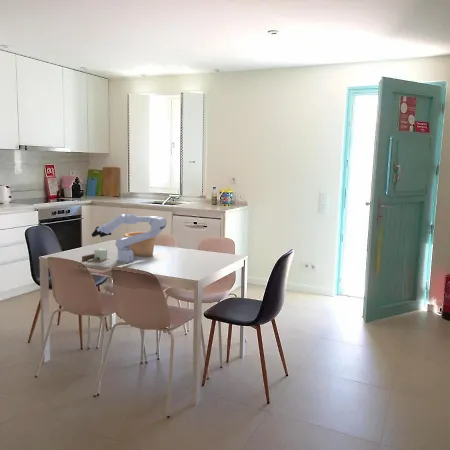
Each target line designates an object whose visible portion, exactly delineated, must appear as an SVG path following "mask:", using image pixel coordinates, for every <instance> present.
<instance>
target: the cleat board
mask: <svg viewBox="0 0 450 450" xmlns="http://www.w3.org/2000/svg"><path fill="white" fill-rule="evenodd" d="M108 260H110V258H107V259H105V260H100V259H98V258H94V253H90V254H86V255H82V256H81V261H82V262H85V263H90V264H96V263H100V262H105V261H108Z"/></svg>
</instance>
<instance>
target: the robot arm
mask: <svg viewBox="0 0 450 450" xmlns="http://www.w3.org/2000/svg"><path fill="white" fill-rule="evenodd" d="M139 222H140V223H148V225H150V229H149V231H144V232H145V233H142V234H139V235H135V236H132V237H124V236H123V237H122V238H118V239H116V240H115V246H116V250H117V261H119V262H124V265H128V264H129V265H130V264H132V263H134V262H135V261H134V256H133V251H132V250H130V249H129V248H130V245H131V244H133V243H137V242H140V241H143V240H146V239H150V238H153V237H156V236H157V237H158V236H160V234H161V233H162V231H163V230H164V229H165V228H166V227H167V223H168V222H167V219H166V218H165V217H164V216H157V215H155V216H154V215H152V216H151V215H148V216H147V215H145V216H138V214H135V213H131V214H127V213H123V214H119V215H117V216H116V218H113V219H112V220H110V221H109V222H107V223H102V226H101V227H100V226H96V227H95V229H94V231H93V232H92V233H91V236H92V238H95V237H97V236H99V237H100V238H104V237H106V236H111V235H112V233H114V232H115V230H116V229H118V228H119V227H121V226H122V225H124V224H127V225H130V224H132V225H137V223H139ZM157 237H156V238H157Z"/></svg>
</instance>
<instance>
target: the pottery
mask: <svg viewBox="0 0 450 450" xmlns="http://www.w3.org/2000/svg"><path fill="white" fill-rule="evenodd" d="M145 232H146V231H132V232H131V231H130V232H126V233H124V234H123V238H124V237H132V236H135V235H139V234H142V233H145ZM157 237H158V236H156V237H153V238H150V239H146V240H143V241H140V242H137V243H133V244H131V245H130V248H129V249H130V250H132V251H133V257H140V258H149V257H152V256H153V255H154V248H155V241H156V238H157Z"/></svg>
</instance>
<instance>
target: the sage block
mask: <svg viewBox="0 0 450 450" xmlns="http://www.w3.org/2000/svg"><path fill="white" fill-rule="evenodd" d="M93 254H94V258H98V259H100V260H105V259H108V249H105V248H97V249H96V248H95V249H93ZM105 261H106V260H105Z"/></svg>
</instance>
